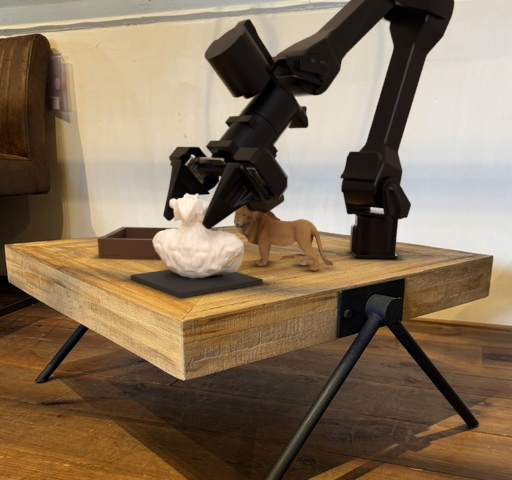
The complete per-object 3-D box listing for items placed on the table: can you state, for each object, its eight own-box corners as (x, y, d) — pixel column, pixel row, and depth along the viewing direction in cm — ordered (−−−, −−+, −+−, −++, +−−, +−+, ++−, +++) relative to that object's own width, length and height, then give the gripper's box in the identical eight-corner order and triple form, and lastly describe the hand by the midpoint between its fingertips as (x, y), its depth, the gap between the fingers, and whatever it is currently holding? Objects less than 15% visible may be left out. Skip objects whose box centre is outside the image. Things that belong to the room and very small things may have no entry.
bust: (153, 290, 74) (125, 227, 65) (168, 247, 78) (144, 182, 69) (242, 296, 72) (226, 232, 62) (253, 251, 76) (240, 185, 66)
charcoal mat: (208, 268, 80) (208, 264, 80) (262, 283, 71) (263, 279, 71) (130, 279, 73) (130, 274, 73) (180, 298, 64) (180, 293, 64)
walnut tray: (223, 245, 99) (223, 228, 98) (214, 260, 86) (214, 241, 85) (123, 243, 99) (122, 226, 98) (98, 257, 87) (97, 238, 86)
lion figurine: (228, 265, 82) (228, 201, 79) (239, 259, 87) (239, 198, 84) (330, 272, 78) (334, 205, 75) (336, 265, 83) (339, 202, 80)
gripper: (341, 177, 70) (268, 277, 67) (250, 171, 84) (187, 253, 81) (294, 104, 63) (211, 212, 60) (203, 111, 77) (132, 199, 74)
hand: (184, 222), depth 69 cm, fingers open, 9 cm apart
